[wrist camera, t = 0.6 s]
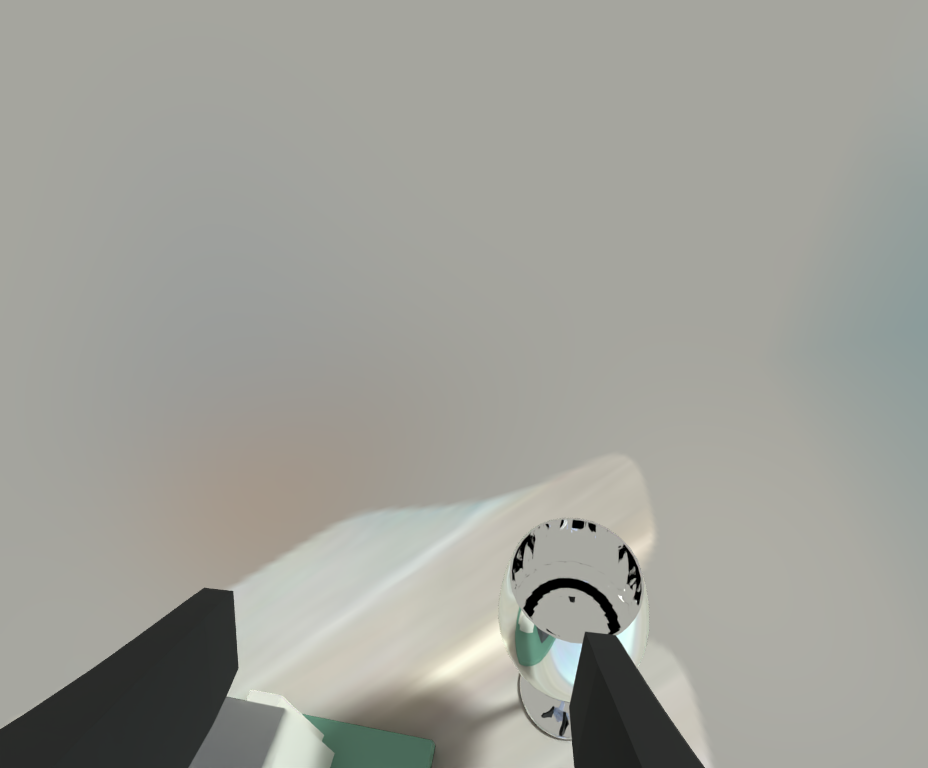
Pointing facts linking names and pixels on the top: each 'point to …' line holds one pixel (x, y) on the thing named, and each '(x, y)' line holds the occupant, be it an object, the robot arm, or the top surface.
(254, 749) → the plug
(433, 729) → the top surface
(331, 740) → the circuit board
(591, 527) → the wineglass
